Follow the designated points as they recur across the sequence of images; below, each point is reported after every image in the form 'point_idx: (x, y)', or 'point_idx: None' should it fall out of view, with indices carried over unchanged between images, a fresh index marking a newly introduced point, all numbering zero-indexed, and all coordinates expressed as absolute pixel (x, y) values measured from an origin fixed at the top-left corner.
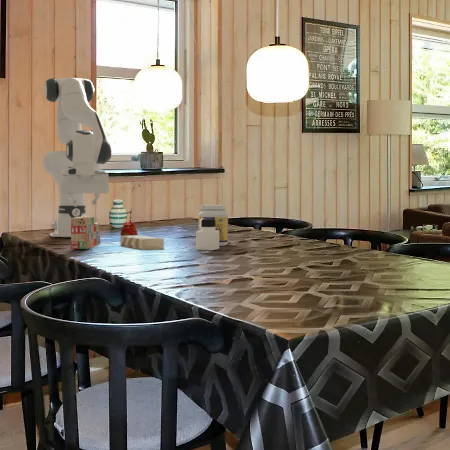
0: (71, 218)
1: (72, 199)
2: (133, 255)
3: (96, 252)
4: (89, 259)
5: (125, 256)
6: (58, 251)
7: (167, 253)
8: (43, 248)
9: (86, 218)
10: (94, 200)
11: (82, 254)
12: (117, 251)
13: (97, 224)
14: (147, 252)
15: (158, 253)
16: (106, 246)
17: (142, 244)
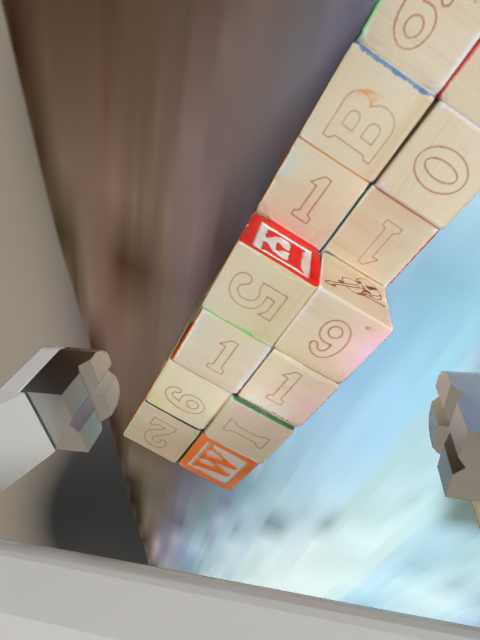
0: (127, 435)
1: (20, 464)
2: (320, 588)
3: (252, 490)
4: None
5: (289, 591)
6: (128, 401)
7: (445, 606)
8: (60, 232)
9: (230, 489)
10: (471, 499)
11: (193, 511)
12: (335, 500)
13: (476, 190)
14: (410, 564)
15: (420, 594)
16: (428, 271)
17: (478, 519)
